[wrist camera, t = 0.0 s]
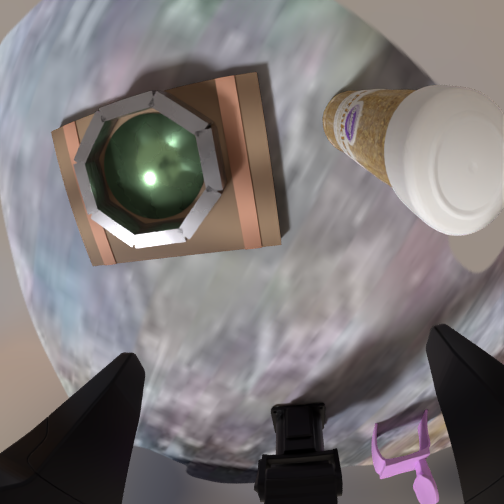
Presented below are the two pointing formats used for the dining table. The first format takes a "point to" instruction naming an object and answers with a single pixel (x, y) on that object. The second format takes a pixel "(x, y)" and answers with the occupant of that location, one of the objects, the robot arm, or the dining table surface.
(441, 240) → the dining table surface
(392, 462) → the toy chair
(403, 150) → the sprinkles bottle
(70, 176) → the wooden base board
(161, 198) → the ring
